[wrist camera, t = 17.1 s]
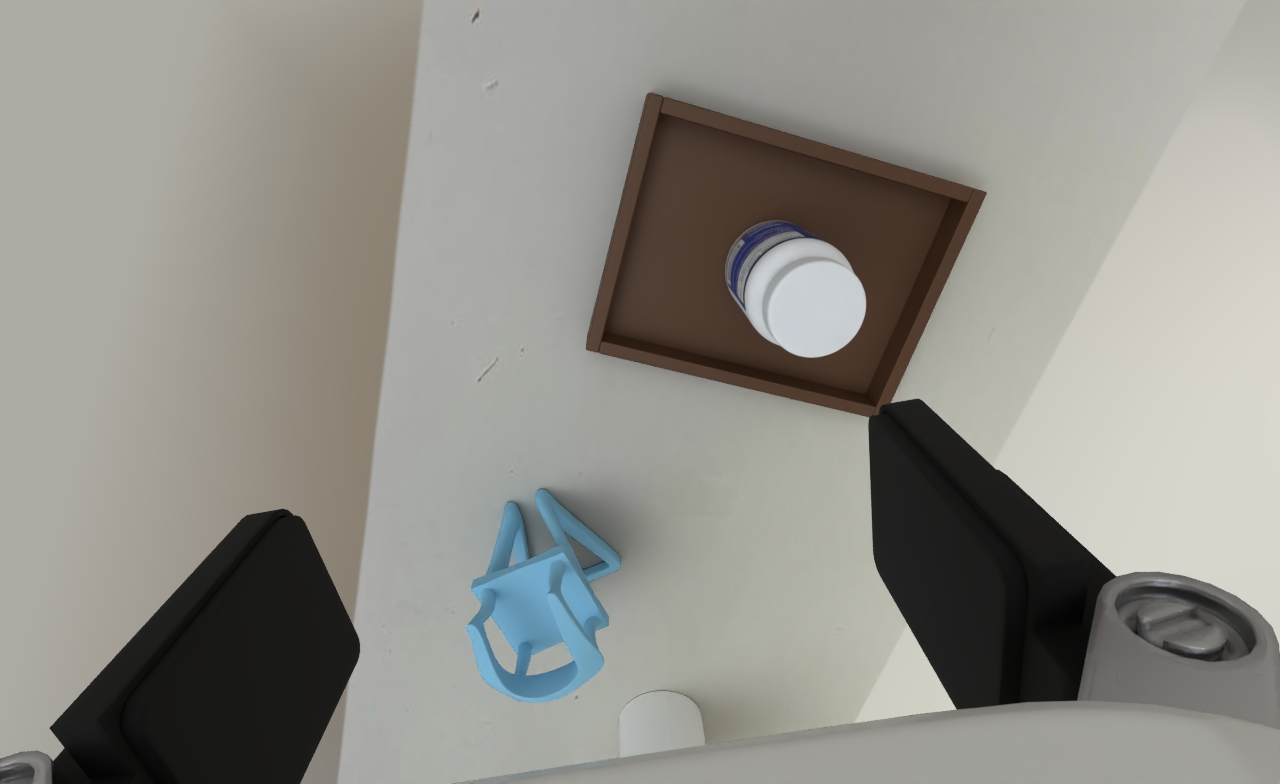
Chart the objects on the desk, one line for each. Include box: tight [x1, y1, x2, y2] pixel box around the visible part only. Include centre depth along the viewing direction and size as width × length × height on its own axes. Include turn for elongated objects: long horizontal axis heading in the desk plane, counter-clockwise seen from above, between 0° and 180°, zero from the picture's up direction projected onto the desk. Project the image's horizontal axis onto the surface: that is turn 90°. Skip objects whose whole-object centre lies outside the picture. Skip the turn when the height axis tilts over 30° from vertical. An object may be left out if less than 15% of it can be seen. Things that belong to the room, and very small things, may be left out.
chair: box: [466, 489, 621, 703], centre depth 41 cm, size 8×8×12 cm
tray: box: [586, 93, 987, 417], centre depth 38 cm, size 20×15×2 cm
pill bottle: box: [725, 220, 866, 358], centre depth 34 cm, size 6×6×10 cm
